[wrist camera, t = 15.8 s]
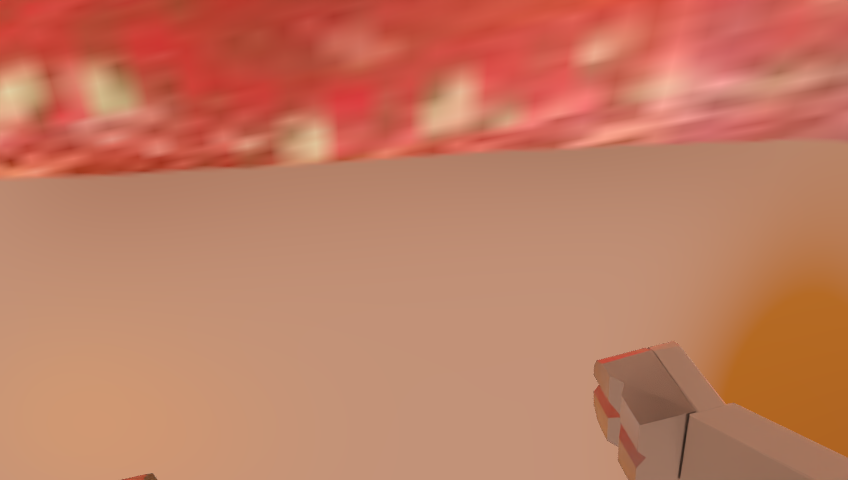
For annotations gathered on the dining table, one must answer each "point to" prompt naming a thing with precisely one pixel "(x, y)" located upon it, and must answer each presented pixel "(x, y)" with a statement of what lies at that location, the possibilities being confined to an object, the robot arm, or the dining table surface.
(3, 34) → the dining table surface
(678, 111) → the dining table surface
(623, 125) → the dining table surface
